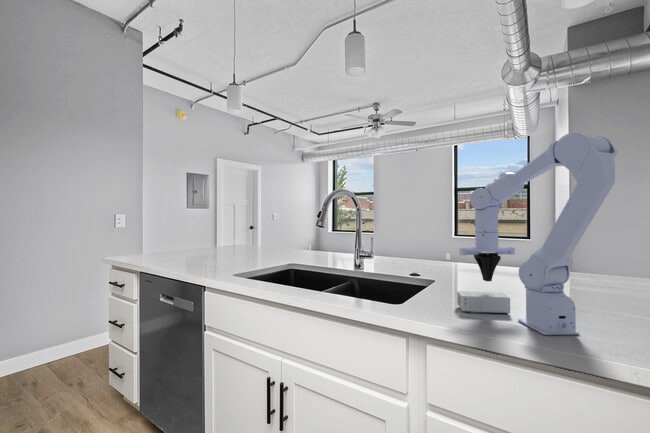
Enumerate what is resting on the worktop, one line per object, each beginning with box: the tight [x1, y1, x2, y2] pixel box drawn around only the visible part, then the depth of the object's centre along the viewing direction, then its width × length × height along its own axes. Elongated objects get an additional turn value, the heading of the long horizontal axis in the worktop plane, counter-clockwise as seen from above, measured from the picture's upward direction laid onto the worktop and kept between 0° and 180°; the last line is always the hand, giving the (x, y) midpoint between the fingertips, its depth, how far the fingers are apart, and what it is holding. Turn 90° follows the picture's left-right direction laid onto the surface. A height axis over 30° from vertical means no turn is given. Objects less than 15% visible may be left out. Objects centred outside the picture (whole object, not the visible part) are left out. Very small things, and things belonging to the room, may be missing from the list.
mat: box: [467, 311, 496, 314], centre depth 87 cm, size 7×10×1 cm, turn 90°
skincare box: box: [456, 290, 511, 314], centre depth 85 cm, size 6×4×12 cm
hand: (487, 280), depth 87 cm, fingers closed
